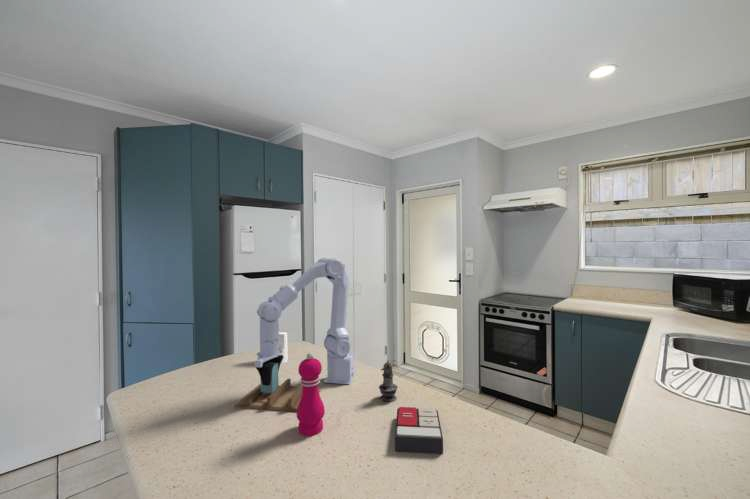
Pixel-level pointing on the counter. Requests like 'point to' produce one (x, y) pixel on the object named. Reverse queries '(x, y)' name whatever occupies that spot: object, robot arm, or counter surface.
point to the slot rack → (273, 398)
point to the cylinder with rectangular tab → (283, 343)
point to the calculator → (418, 431)
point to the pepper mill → (310, 397)
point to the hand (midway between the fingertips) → (269, 382)
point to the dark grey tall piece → (388, 384)
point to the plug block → (273, 383)
